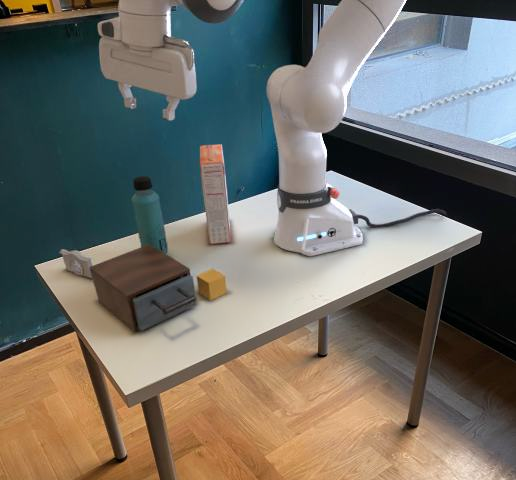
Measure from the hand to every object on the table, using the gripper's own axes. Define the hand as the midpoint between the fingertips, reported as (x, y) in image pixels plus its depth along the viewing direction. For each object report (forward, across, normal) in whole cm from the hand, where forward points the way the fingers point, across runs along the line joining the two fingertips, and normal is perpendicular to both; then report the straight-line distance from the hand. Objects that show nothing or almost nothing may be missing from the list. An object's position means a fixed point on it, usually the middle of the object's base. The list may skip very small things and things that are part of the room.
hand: (149, 113), depth 99 cm
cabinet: (+35, -7, +12) cm, 38 cm away
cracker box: (+35, -2, -24) cm, 42 cm away
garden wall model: (+38, +14, +10) cm, 41 cm away
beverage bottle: (+36, +4, -5) cm, 37 cm away
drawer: (+33, -12, +14) cm, 38 cm away
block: (+33, -18, +2) cm, 38 cm away
